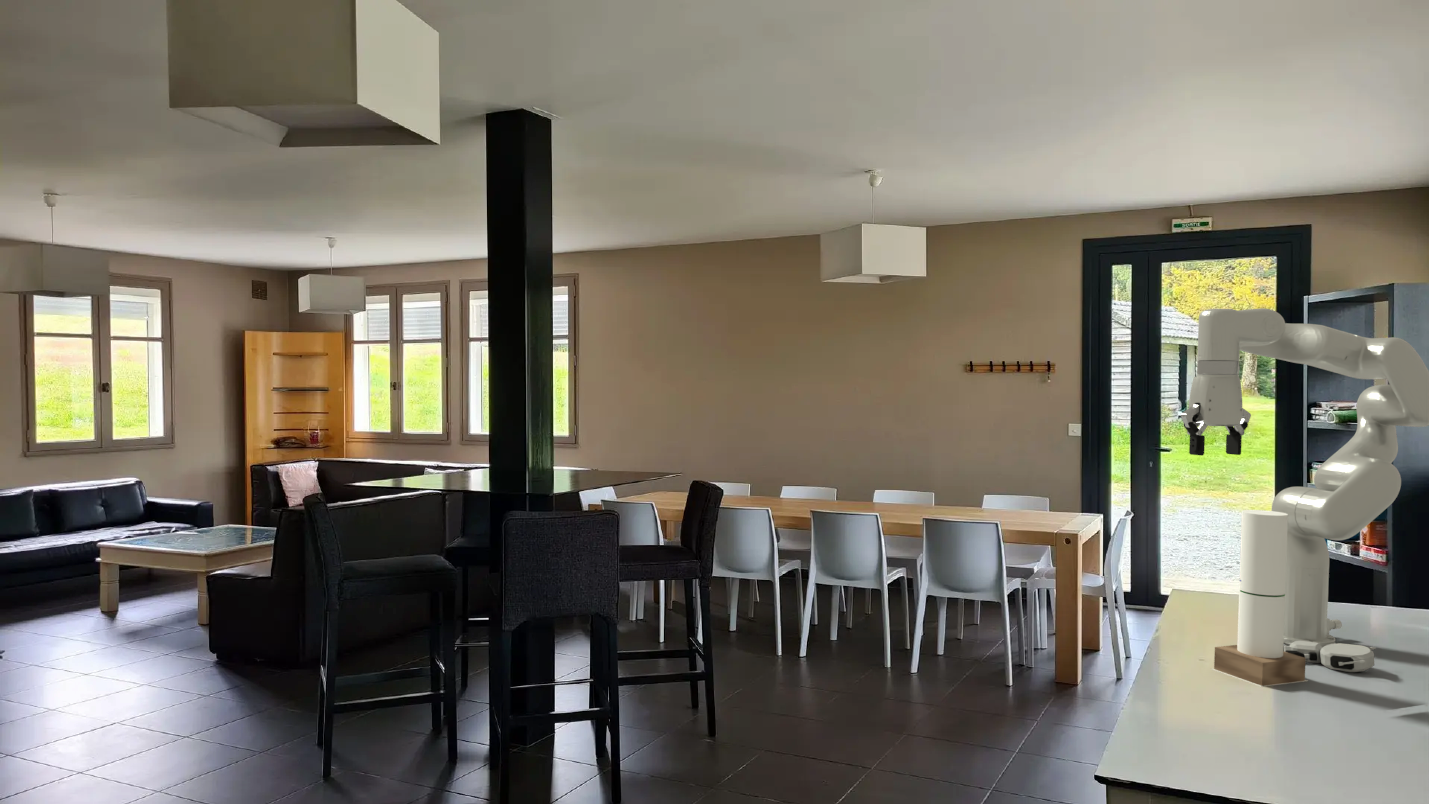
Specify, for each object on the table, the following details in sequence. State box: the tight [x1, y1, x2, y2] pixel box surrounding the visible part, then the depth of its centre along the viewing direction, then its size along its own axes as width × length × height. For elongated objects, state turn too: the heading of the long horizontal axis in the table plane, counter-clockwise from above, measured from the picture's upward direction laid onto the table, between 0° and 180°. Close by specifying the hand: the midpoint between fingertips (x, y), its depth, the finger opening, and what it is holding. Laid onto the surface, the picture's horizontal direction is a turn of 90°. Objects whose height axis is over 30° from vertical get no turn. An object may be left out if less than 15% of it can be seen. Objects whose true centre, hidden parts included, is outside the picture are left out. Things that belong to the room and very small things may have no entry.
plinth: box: [1213, 644, 1306, 687], centre depth 173 cm, size 10×10×4 cm
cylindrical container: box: [1236, 509, 1288, 658], centre depth 173 cm, size 7×7×25 cm
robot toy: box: [1283, 641, 1376, 673], centre depth 182 cm, size 12×4×15 cm
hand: (1215, 454), depth 197 cm, fingers open, 9 cm apart
